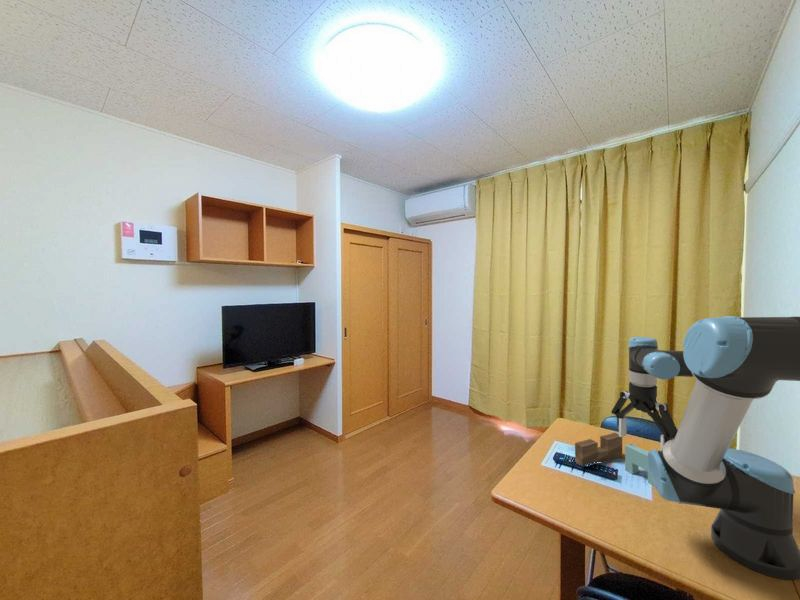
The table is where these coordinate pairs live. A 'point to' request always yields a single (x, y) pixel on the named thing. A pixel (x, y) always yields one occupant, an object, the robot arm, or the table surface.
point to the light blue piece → (636, 460)
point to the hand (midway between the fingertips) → (642, 445)
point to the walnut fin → (598, 449)
